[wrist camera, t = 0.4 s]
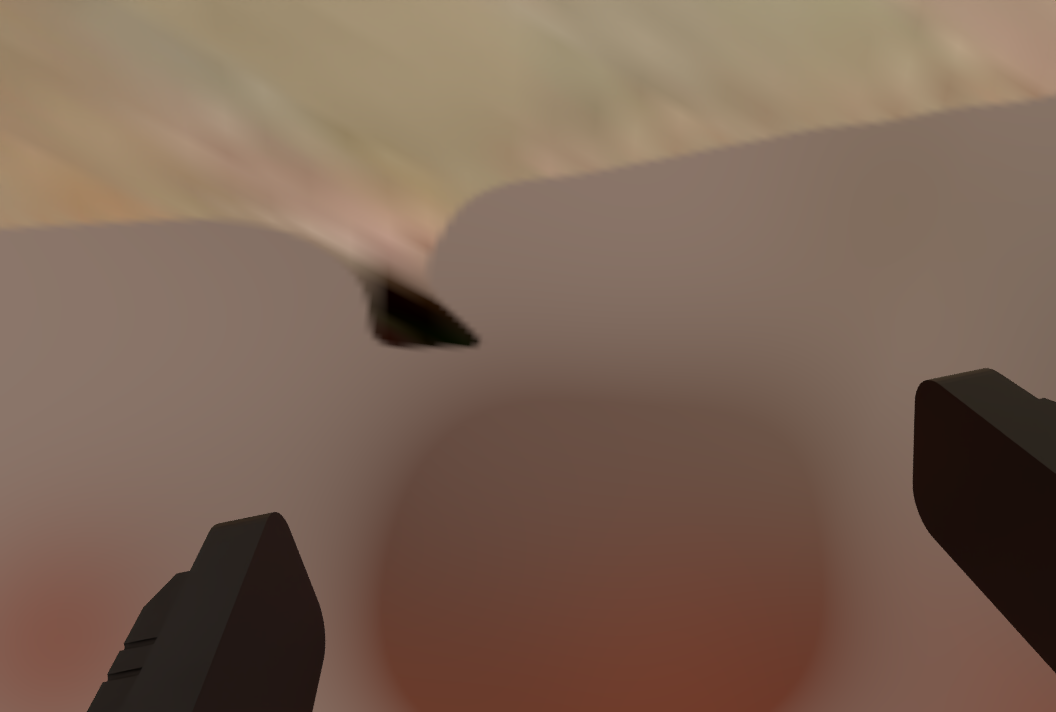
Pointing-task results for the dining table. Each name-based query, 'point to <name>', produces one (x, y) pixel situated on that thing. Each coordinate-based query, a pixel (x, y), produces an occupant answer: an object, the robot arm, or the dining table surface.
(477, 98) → the dining table surface
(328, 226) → the dining table surface
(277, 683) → the robot arm
